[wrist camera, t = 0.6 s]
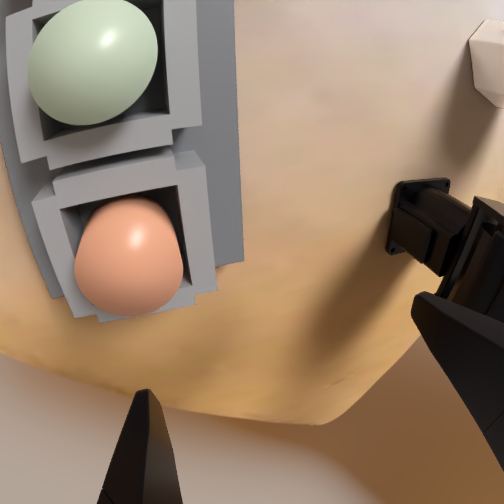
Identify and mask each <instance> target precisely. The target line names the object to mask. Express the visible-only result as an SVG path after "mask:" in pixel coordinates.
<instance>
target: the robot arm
mask: <svg viewBox="0 0 504 504" xmlns="http://www.w3.org/2000/svg"><path fill="white" fill-rule="evenodd" d="M449 188H450V180H449V179H447V178H433V179H421V180H409V181H401V182H400V183H399V184H398V185H397V190H396V196H395V202H394V208H393V214H392V220H391V225H390V230H389V235H388V240H387V245H386V252H387V253H388V254H389V255H395V254H398V253H402V252H407V253H409V254H410V255H411V256H412V257H414V258H415V259H416V260H417V261H418V262H420V263H421V264H422V263H423V264H424V265H426V266H427V267H428V268H429V269H430V270H431V271H433V272H434V273H435V274H436V275H437V276H438V277H442V276H443V279H442V281H441V284H440V286H439V288H438V290H437V292H436V293H434V294H431V293H429V292H425V291H424V292H421V293H419V294H417V295H415V297H414V300H413V304H412V308H411V317H412V319H413V321H414V323H415V324H416V326H417V328H418V330H419V331H420V333H421V335H422V337H423V339H424V341H425V342H426V344H427V346H428V348H429V349H430V351H431V353H432V354H433V356H434V357H435V359H436V360H437V362H438V363H439V365H440V366H441V368H442V369H443V371H444V372H445V374H446V375H447V376H448V378H449V379H450V381H451V383H452V384H453V386H454V388H455V389H456V391H457V392H458V394H459V395H460V397H461V398H462V400H463V402H464V403H465V405H466V407H467V408H468V410H469V411H470V413H471V415H472V416H473V418H474V420H475V421H476V423H477V425H478V426H479V428H480V430H481V431H482V433H483V435H484V437H485V439H486V440H487V442H488V444H489V446H490V447H491V449H492V451H493V453H494V454H495V457H496V458H497V460H498V462H499V464H500V466H501V468H502V469H503V471H504V204H503V203H501V202H498V201H494V200H490V199H486V198H482V197H478V196H474V199H473V202H472V203H473V206H472V208H471V207H469V206H468V205H466V204H464V203H463V202H461V201H459V200H458V199H456V198H454V197H452V196H451V195H449V194H448V193H449ZM102 488H103V489H102V490H101V492H100V495H99V499H98V502H97V504H183V502H182V497H181V492H180V487H179V481H178V476H177V470H176V465H175V459H174V453H173V448H172V445H171V441H170V438H169V434H168V430H167V427H166V423H165V419H164V415H163V411H162V407H161V405H160V403H159V401H158V400H157V398H156V397H155V395H154V394H153V393H152V391H151V390H150V389H143V390H139V391H137V392H136V393H135V396H134V398H133V401H132V404H131V406H130V409H129V412H128V415H127V417H126V420H125V423H124V426H123V428H122V431H121V434H120V437H119V440H118V442H117V445H116V448H115V451H114V454H113V457H112V459H111V462H110V465H109V468H108V471H107V474H106V478H105V481H104V484H103V487H102Z"/></svg>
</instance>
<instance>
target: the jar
mask: <svg viewBox="0 0 504 504" xmlns="http://www.w3.org/2000/svg"><path fill="white" fill-rule="evenodd" d="M469 46H470V53H471V61H472V69H473V80H474V87H475V89H477V90H478V91H479V92H480V93H481V94H482V95H483V96H485V97H486V98H487V99H488V100H489V101H490V102H491V103H492V104H493V105H494V106H496V107H499V108H503V109H504V21H500V20H491V19H486V20H485V21H484V22H483V23H482V24H481V26H480V27H479V28H478V29H477V31H476V32H475V33H474V34H473V35H472V37H471V38H470V39H469Z"/></svg>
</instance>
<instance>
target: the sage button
mask: <svg viewBox="0 0 504 504" xmlns="http://www.w3.org/2000/svg"><path fill="white" fill-rule="evenodd" d="M157 56H158V45H157V38H156V34H155V31H154V29H153V26H152V24H151V22H150V21H149V19H148V18H147V17H146V15H145V14H144V13H143V12H142V11H141V10H140V9H138V8H137V7H136V6H134V5H132V4H131V3H129V2H127V1H124V0H81V1H78V2H76V3H74V4H72V5H70V6H68V7H66V8H64V9H63V10H61V11H60V12H59V13H57V14H56V15H55V16H54V17H53V18H52V19H50V20H49V21H48V22H47V24H46V25H45V26H44V27H43V28H42V30H41V31H40V33H39V34H38V36H37V38H36V40H35V42H34V43H33V46H32V49H31V51H30V55H29V59H28V66H27V78H28V84H29V88H30V91H31V94H32V96H33V98H34V100H35V101H36V103H37V104H38V106H39V107H40V108H41V109H42V110H43V111H44V112H45V113H46V114H48V115H49V116H50V117H52V118H54V119H56V120H58V121H60V122H63V123H67V124H71V125H91V124H97V123H100V122H104V121H106V120H109V119H111V118H113V117H115V116H117V115H119V114H120V113H122V112H123V111H125V110H126V109H127V108H129V107H130V106H131V105H132V104H133V103H134V102H135V101H136V100H137V99H138V98H139V97H140V96H141V94H142V93H143V92H144V90H145V89H146V87H147V86H148V84H149V82H150V80H151V78H152V75H153V73H154V70H155V66H156V62H157Z"/></svg>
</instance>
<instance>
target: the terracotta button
mask: <svg viewBox="0 0 504 504" xmlns="http://www.w3.org/2000/svg"><path fill="white" fill-rule="evenodd" d="M74 272H75V278H76V281H77V284H78V286H79V289H80V290H81V292H82V293H83V295H84V296H85V297H86V298H87V299H88V300H89V301H90V302H91V303H92V304H93V305H95V306H96V307H98V308H99V309H101V310H103V311H105V312H108V313H111V314H114V315H119V316H139V315H144V314H148V313H151V312H153V311H155V310H157V309H159V308H161V307H162V306H164V305H165V304H166V303H168V302H169V301H170V300H171V299H172V298H173V296H174V295H175V294H176V292H177V290H178V289H179V287H180V284H181V281H182V277H183V263H182V258H181V254H180V250H179V246H178V242H177V238H176V233H175V229H174V225H173V222H172V219H171V217H170V215H169V214H168V212H167V211H166V210H165V208H164V207H163V206H162V205H161V204H159V203H158V202H157V201H155V200H153V199H152V198H150V197H147V196H145V195H141V194H135V193H130V194H125V195H120V196H115V197H110V198H107V199H106V200H104V201H102V202H101V203H100V204H98V205H97V206H96V207H95V208H94V210H93V211H92V212H91V214H90V215H89V217H88V219H87V222H86V225H85V228H84V231H83V234H82V238H81V241H80V244H79V248H78V251H77V255H76V258H75V264H74Z"/></svg>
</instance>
